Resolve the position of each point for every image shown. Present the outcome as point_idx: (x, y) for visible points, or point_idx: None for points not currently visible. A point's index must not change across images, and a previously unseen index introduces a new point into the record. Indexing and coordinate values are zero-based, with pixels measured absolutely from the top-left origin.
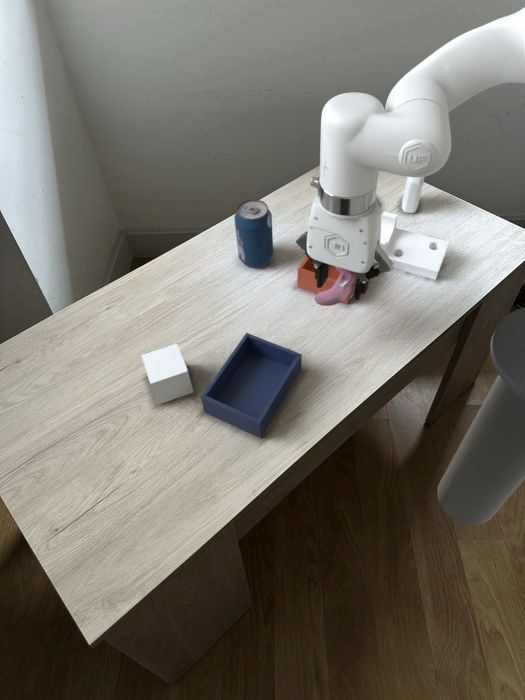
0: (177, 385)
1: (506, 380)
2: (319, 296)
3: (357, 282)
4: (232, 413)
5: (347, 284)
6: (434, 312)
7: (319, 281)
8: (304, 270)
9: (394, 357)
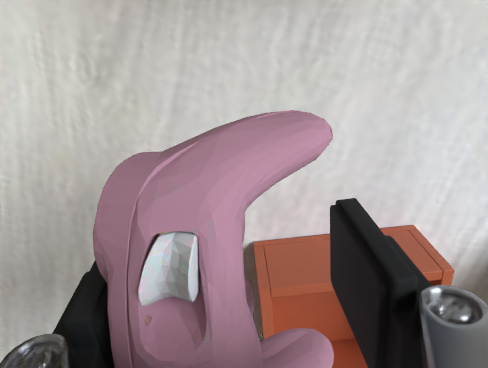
0: None
1: None
2: (303, 128)
3: (82, 321)
4: None
5: (130, 271)
6: (47, 325)
7: (356, 224)
8: (429, 276)
9: (26, 144)
